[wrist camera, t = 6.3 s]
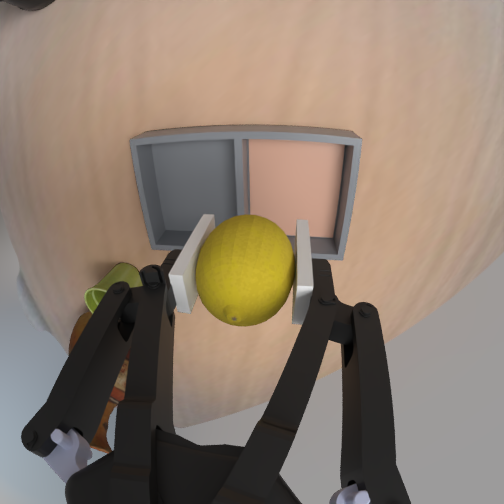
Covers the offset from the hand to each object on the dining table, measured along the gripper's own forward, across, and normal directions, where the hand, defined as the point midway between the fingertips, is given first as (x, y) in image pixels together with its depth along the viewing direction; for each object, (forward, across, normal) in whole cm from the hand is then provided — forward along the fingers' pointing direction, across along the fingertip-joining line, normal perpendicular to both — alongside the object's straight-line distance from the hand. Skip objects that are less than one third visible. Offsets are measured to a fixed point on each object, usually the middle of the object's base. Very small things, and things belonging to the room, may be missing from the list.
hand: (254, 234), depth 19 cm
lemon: (+1, 0, 0) cm, 1 cm away
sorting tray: (+16, -3, -2) cm, 16 cm away
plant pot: (+16, -24, -20) cm, 35 cm away
